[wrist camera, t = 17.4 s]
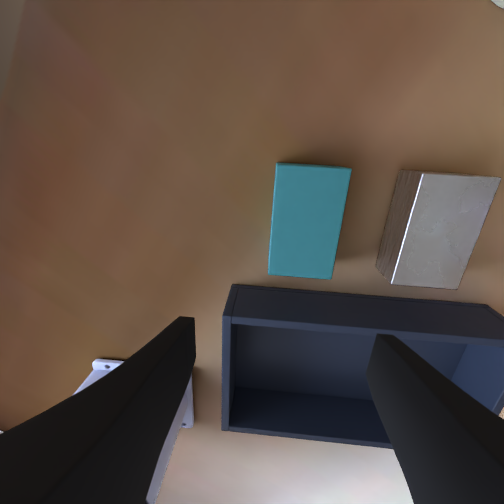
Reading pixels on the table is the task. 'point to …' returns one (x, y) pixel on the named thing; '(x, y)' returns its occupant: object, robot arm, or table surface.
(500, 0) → the lidded jar
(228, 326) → the box
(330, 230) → the block
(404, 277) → the silver metal block
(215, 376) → the table surface
